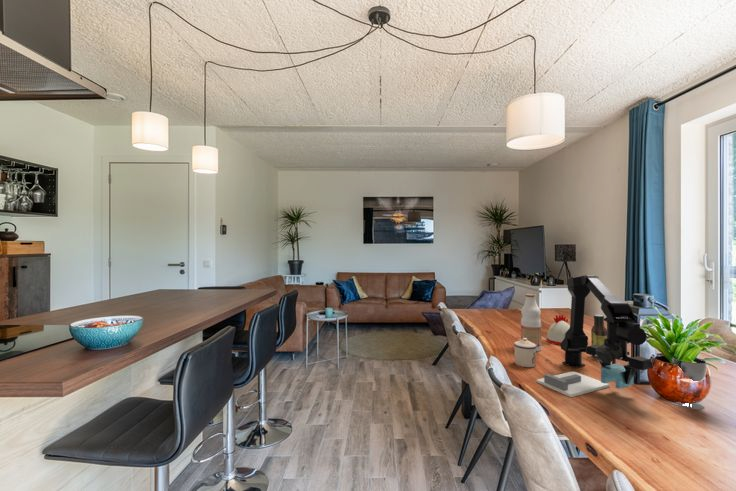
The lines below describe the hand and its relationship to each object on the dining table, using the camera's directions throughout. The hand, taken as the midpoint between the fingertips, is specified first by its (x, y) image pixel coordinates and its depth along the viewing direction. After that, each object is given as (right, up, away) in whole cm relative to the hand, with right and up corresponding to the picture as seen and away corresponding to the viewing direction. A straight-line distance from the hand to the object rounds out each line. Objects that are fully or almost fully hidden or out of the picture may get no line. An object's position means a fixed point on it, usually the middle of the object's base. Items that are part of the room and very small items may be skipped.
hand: (617, 380), depth 116 cm
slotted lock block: (0, -1, 0) cm, 1 cm away
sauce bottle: (+22, -5, +39) cm, 45 cm away
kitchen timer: (+18, -5, +64) cm, 67 cm away
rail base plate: (-10, -5, +9) cm, 14 cm away
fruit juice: (-4, -5, +52) cm, 53 cm away
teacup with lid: (-18, -5, +32) cm, 37 cm away
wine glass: (+18, -5, -7) cm, 20 cm away
